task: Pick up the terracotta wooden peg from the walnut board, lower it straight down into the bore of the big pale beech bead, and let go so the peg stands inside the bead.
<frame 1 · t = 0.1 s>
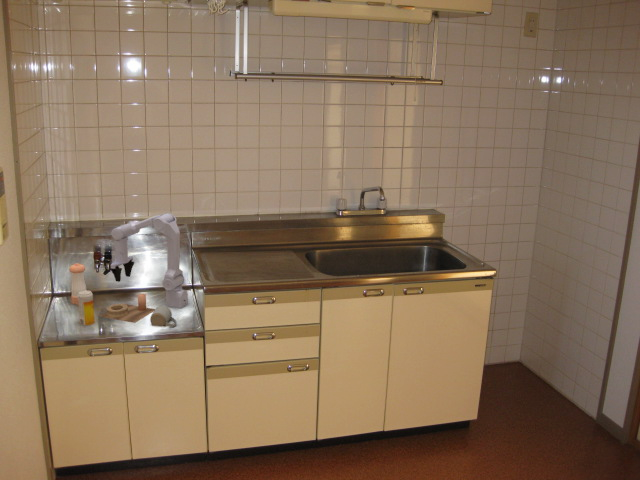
hand: (123, 278, 314), 10 cm above the counter, tool pointing down, fingers open, 7 cm apart
salt shaker: (79, 302, 312), on the counter
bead: (117, 313, 295), resting on board
board: (128, 315, 297), on the counter
peg: (142, 309, 301), point 1 cm above the counter, touching board
yellow labeled bottle: (87, 325, 286), on the counter
ceramic mug: (164, 325, 288), on the counter
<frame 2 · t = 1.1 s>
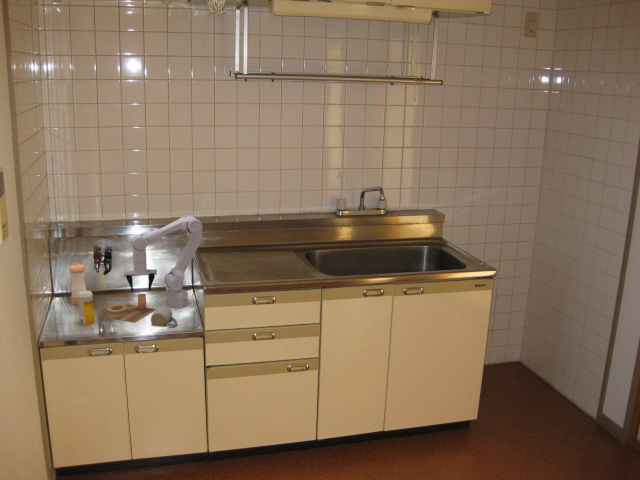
hand: (141, 290, 299), 10 cm above the counter, tool pointing down, fingers open, 7 cm apart
nothing on the counter moved.
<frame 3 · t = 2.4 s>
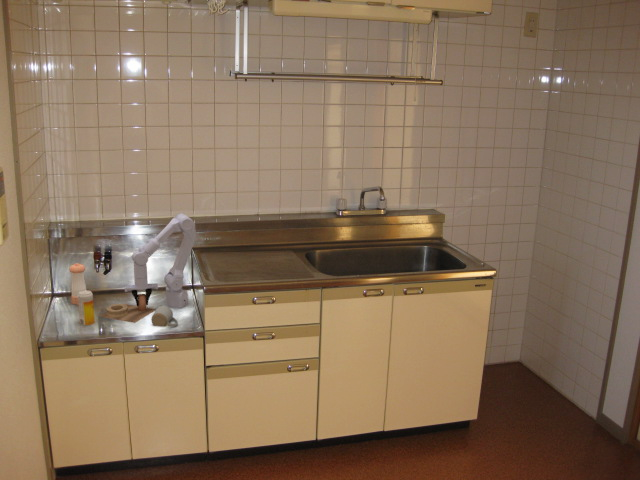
hand: (142, 304, 301), 3 cm above the counter, tool pointing down, fingers closed on peg, 4 cm apart
peg: (142, 309, 301), point 1 cm above the counter, touching board, gripper
everything else where it was.
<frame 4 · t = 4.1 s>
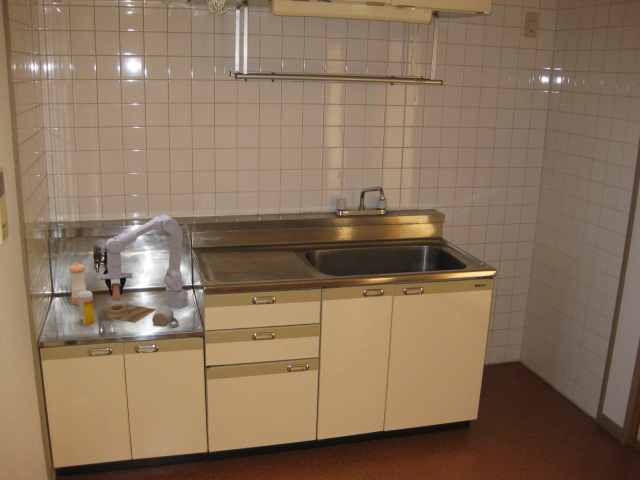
hand: (116, 294, 293), 10 cm above the counter, tool pointing down, fingers closed on peg, 4 cm apart
peg: (116, 299, 293), point 8 cm above the counter, touching gripper
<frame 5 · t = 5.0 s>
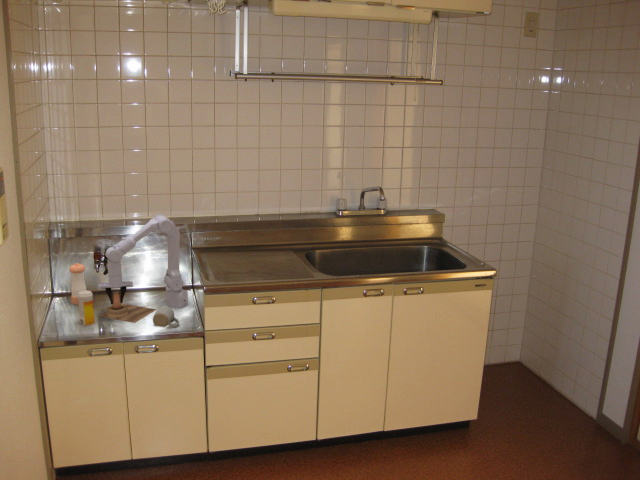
hand: (116, 303, 294), 6 cm above the counter, tool pointing down, fingers closed on peg, 4 cm apart
peg: (117, 307, 294), point 4 cm above the counter, touching gripper
when the fingers open (5 cm above the counter, at t = 5.6 s): peg drops 2 cm, resting on board.
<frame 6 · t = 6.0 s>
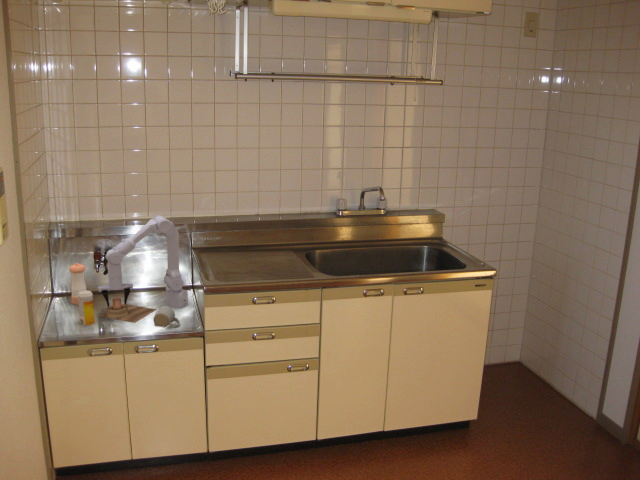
hand: (116, 305, 294), 5 cm above the counter, tool pointing down, fingers open, 7 cm apart
peg: (117, 313, 295), point 1 cm above the counter, touching board
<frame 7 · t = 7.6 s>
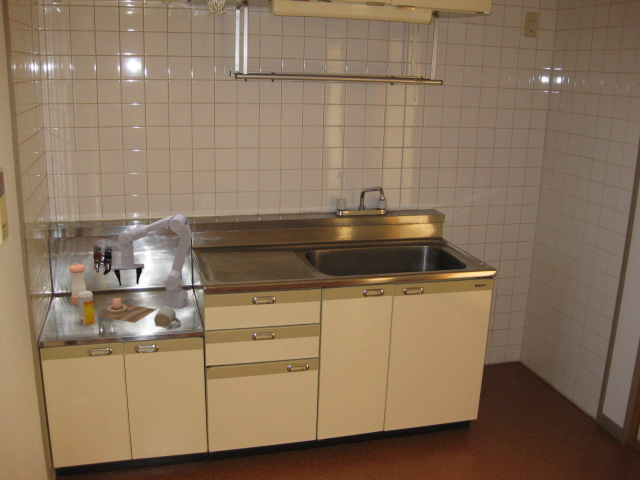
hand: (128, 284, 306), 10 cm above the counter, tool pointing down, fingers open, 7 cm apart
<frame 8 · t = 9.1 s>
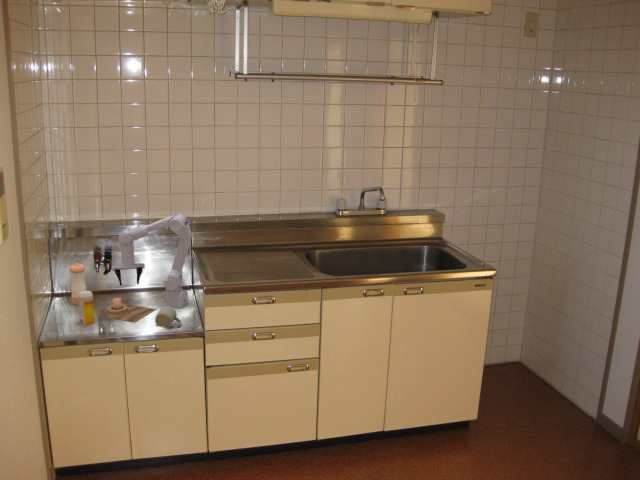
hand: (129, 284, 306), 10 cm above the counter, tool pointing down, fingers open, 7 cm apart
at the end: peg 0.1 cm off-centre on the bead, point 0.0 cm above the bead's base; peg tilted 1°; the gripper is holding nothing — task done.
